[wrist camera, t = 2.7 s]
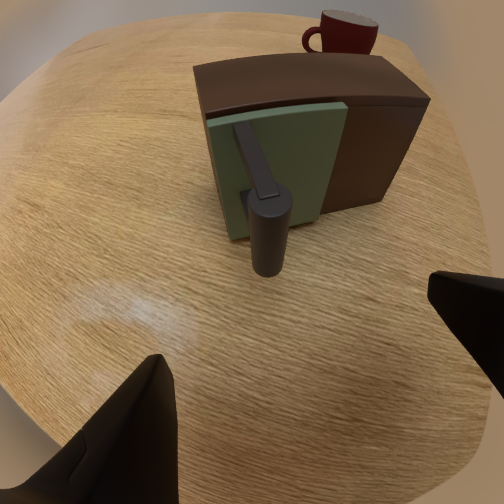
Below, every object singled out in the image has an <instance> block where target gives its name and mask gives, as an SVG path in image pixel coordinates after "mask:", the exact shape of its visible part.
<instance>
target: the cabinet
mask: <svg viewBox="0 0 504 504" xmlns="http://www.w3.org/2000/svg"><path fill="white" fill-rule="evenodd" d="M193 72H194V77H195V82H196V88H197V93H198V98H199V104H200V109H201V114H202V119H203V124H204V129H205V134H206V139H207V144H208V149H209V154H210V159H211V164H212V169H213V174H214V178H215V183H216V187H217V191H218V195H219V199H220V203H221V207H222V212H223V216H224V220H225V215H224V211H223V206H222V201H221V196H220V191H219V186H218V181H217V176H216V171H215V166H214V161H213V155H212V150H211V145H210V140H209V135H208V129H207V124H206V121H207V120H210V119H215V118H219V117H224V116H229V115H235V114H240V113H246V112H252V111H258V110H265V109H272V108H279V107H288V106H297V105H307V104H319V103H334V102H343V103H344V104H345V105H346V106H347V107H348V111H347V116H346V120H345V124H344V128H343V132H342V135H341V139H340V143H339V147H338V151H337V155H336V158H335V162H334V166H333V169H332V173H331V176H330V180H329V183H328V187H327V190H326V194H325V197H324V200H323V204H322V207H321V211H320V214H324V213H329V212H333V211H338V210H342V209H347V208H351V207H356V206H361V205H365V204H370V203H375V202H380V201H381V200H382V199H383V197H384V195H385V193H386V191H387V189H388V188H389V186H390V184H391V182H392V180H393V178H394V176H395V174H396V172H397V171H398V169H399V167H400V165H401V163H402V161H403V159H404V157H405V155H406V153H407V151H408V149H409V146H410V144H411V142H412V140H413V138H414V136H415V134H416V132H417V129H418V127H419V125H420V123H421V121H422V118H423V116H424V114H425V112H426V109H427V107H428V105H429V102H430V100H431V98H430V97H429V96H428V95H427V94H426V93H425V92H423V91H422V90H421V89H420V88H419V87H418V86H417V85H416V84H415V83H414V82H412V81H411V80H410V79H409V78H408V77H407V76H406V75H404V74H403V73H402V72H401V71H400V70H398V69H397V68H396V67H395V66H393V65H392V64H391V63H390V62H388V61H387V60H386V59H384V58H383V57H382V56H374V55H363V54H349V53H287V54H272V55H261V56H252V57H244V58H236V59H230V60H223V61H217V62H212V63H207V64H202V65H197V66H193ZM320 214H319V215H320ZM225 224H226V220H225ZM226 228H227V225H226ZM227 232H228V230H227Z"/></svg>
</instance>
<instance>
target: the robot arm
mask: <svg viewBox="0 0 504 504" xmlns="http://www.w3.org/2000/svg"><path fill="white" fill-rule="evenodd" d="M427 297H428V300H429V302H430V303H431V305H432V306H433V307H434V309H435V310H436V311H437V313H438V314H439V315H440V317H441V318H442V320H443V321H444V322H445V324H446V325H447V327H448V328H449V329H450V331H451V332H452V333H453V334H454V335H455V337H456V338H457V339H458V340H459V341H460V343H461V344H462V345H463V346H464V347H465V349H466V350H467V351H468V352H469V354H470V355H471V356H472V357H473V358H474V360H475V361H476V362H477V364H478V365H479V366H480V367H481V369H482V370H483V371H484V373H485V374H486V375H487V377H488V378H489V379H490V381H491V382H492V383H493V385H494V386H495V387H496V389H497V390H498V392H499V393H500V394H501V396H502V397H503V399H504V279H502V278H494V277H487V276H479V275H471V274H463V273H455V272H447V271H436V272H434V273H432V274H431V275H430V276H429V282H428V292H427ZM0 504H179V494H178V421H177V410H176V400H175V389H174V379H173V375H172V372H171V371H170V369H169V367H168V365H167V363H166V361H165V358H164V357H163V355H162V354H154V355H149V356H148V357H146V359H145V360H144V361H143V362H142V363H141V364H140V365H139V366H138V367H137V368H136V369H135V370H134V371H133V373H132V374H131V375H130V376H129V377H128V378H127V379H126V380H125V381H124V382H123V383H122V384H121V386H120V387H119V388H118V389H117V390H116V391H115V392H114V393H113V394H112V395H111V396H110V397H109V399H108V400H107V401H106V402H105V403H104V404H103V405H102V406H101V407H100V408H99V409H98V410H97V412H96V413H95V414H94V415H93V416H92V417H91V418H90V419H89V420H88V421H87V422H86V423H85V425H84V426H83V427H82V429H80V430H79V431H78V432H77V433H76V434H75V435H74V437H73V438H72V439H71V440H70V441H69V442H68V443H67V444H66V445H65V446H64V447H63V448H62V449H61V450H60V451H59V452H58V453H57V454H56V455H55V456H53V457H52V458H51V459H50V460H49V461H48V462H47V463H46V464H45V465H44V466H42V467H41V468H40V469H39V470H38V471H37V472H36V473H35V474H33V475H32V476H31V477H30V478H29V479H28V480H27V481H25V482H24V483H23V484H21V485H19V486H17V487H14V488H10V489H0Z"/></svg>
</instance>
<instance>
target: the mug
mask: <svg viewBox="0 0 504 504" xmlns="http://www.w3.org/2000/svg"><path fill="white" fill-rule="evenodd" d="M377 31H378V24H377V23H376V22H375V21H373V20H371V19H369V18H366V17H364V16H361V15H357V14H354V13H350V12H344V11H337V10H325V11H322V15H321V23H320V27H311V28H309V29H308V30H306V31H305V33H304V34H303V37H302V45H303V47H304V49H305V50H306V51H307V52H308V53H349V54H363V55H369V54H370V52H371V50H372V48H373V45H374V43H375V40H376V37H377ZM315 33H320V34H321V40H322V52H317V51H314V50H312V49H311V48H310V47H309V43H308V42H309V38H310V37H311V36H312V35H313V34H315Z"/></svg>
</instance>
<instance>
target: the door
mask: <svg viewBox="0 0 504 504" xmlns="http://www.w3.org/2000/svg"><path fill="white" fill-rule="evenodd" d="M347 111H348V107H347V106H346V105H345V104H344V103H343V102H334V103H319V104H307V105H297V106H288V107H279V108H272V109H265V110H258V111H252V112H246V113H240V114H235V115H229V116H224V117H219V118H215V119H210V120H207V121H206V124H207V129H208V135H209V140H210V145H211V150H212V155H213V161H214V166H215V171H216V176H217V181H218V186H219V191H220V196H221V201H222V206H223V211H224V215H225V220H226V225H227V230H228V235H229V239H230V240H235V239H239V238H243V237H247V236H250V242H251V255H252V266H253V269H254V271H255V272H256V273H257V274H258V275H260V276H262V277H267V278H268V277H273V276H276V275H277V274H278V273H279V272H280V271H281V269H282V266H283V261H284V255H285V249H286V243H287V236H288V230H289V226H294V225H298V224H302V223H306V222H311V221H315V220H318V217H319V214H320V211H321V207H322V204H323V200H324V197H325V194H326V190H327V187H328V183H329V180H330V176H331V173H332V169H333V166H334V162H335V158H336V155H337V151H338V147H339V143H340V139H341V135H342V132H343V128H344V124H345V120H346V116H347Z"/></svg>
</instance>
